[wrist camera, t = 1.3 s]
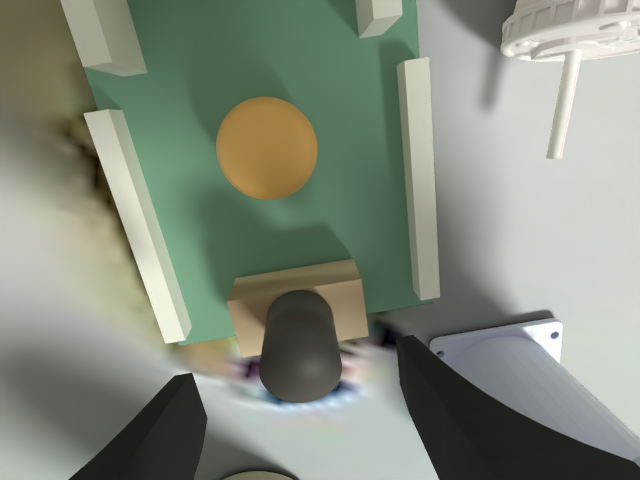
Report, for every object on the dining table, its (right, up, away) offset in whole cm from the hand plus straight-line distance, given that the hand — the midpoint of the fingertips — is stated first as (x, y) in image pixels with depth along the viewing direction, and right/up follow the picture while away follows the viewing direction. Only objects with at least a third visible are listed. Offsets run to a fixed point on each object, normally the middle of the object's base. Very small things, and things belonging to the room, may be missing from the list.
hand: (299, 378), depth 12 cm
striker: (0, +2, +6) cm, 7 cm away
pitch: (-1, +9, +5) cm, 10 cm away
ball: (-1, +8, +2) cm, 9 cm away
